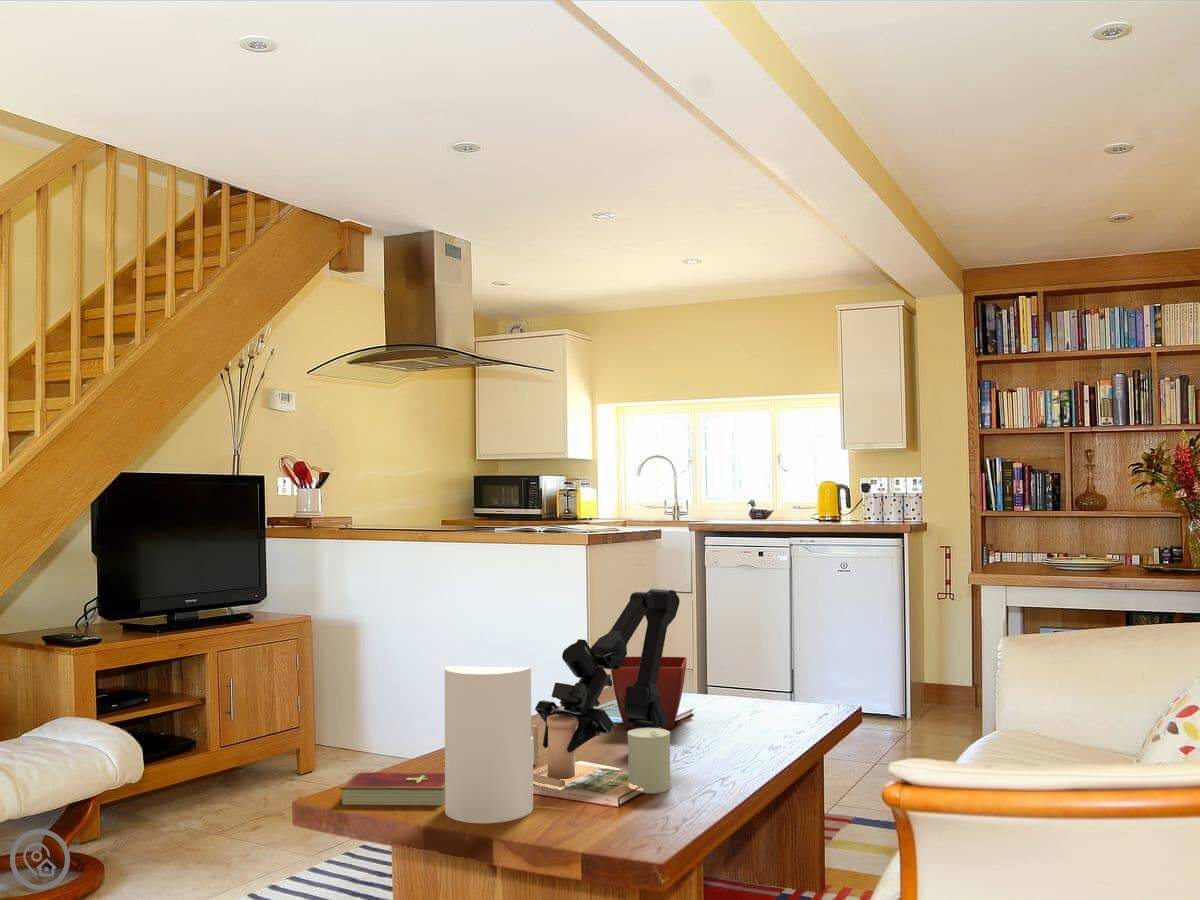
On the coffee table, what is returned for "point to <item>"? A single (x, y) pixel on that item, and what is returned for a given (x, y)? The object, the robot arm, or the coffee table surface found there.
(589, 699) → the robot arm
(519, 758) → the cylinder
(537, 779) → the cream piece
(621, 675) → the plant pot
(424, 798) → the hardcover book
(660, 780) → the can
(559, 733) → the tan tall round cup
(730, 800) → the coffee table surface
